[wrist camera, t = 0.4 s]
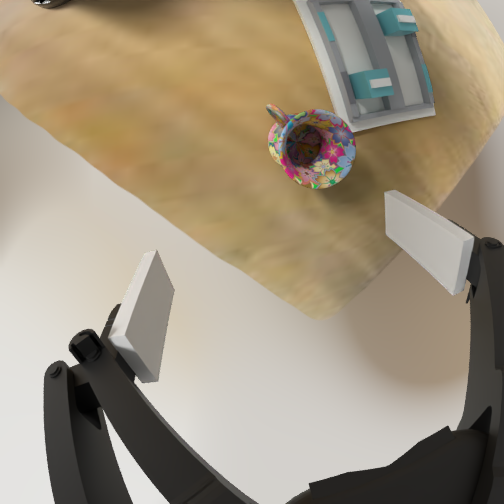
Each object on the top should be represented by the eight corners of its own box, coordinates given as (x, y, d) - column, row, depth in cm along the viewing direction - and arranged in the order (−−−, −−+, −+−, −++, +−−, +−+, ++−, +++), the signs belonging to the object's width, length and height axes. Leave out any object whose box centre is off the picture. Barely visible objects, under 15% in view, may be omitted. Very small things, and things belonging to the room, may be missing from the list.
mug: (336, 142, 39) (370, 151, 29) (295, 183, 41) (318, 205, 32) (280, 86, 34) (301, 75, 25) (236, 130, 37) (242, 134, 27)
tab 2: (374, 15, 27) (392, 6, 23) (393, 16, 27) (412, 8, 22) (383, 36, 29) (402, 29, 24) (401, 36, 29) (420, 30, 24)
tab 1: (348, 74, 33) (365, 70, 28) (369, 71, 32) (389, 67, 27) (355, 99, 34) (374, 98, 30) (376, 95, 34) (396, 94, 29)
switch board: (291, -3, 27) (296, -11, 24) (393, -5, 26) (403, -9, 23) (340, 134, 38) (349, 136, 35) (432, 114, 37) (443, 116, 34)
